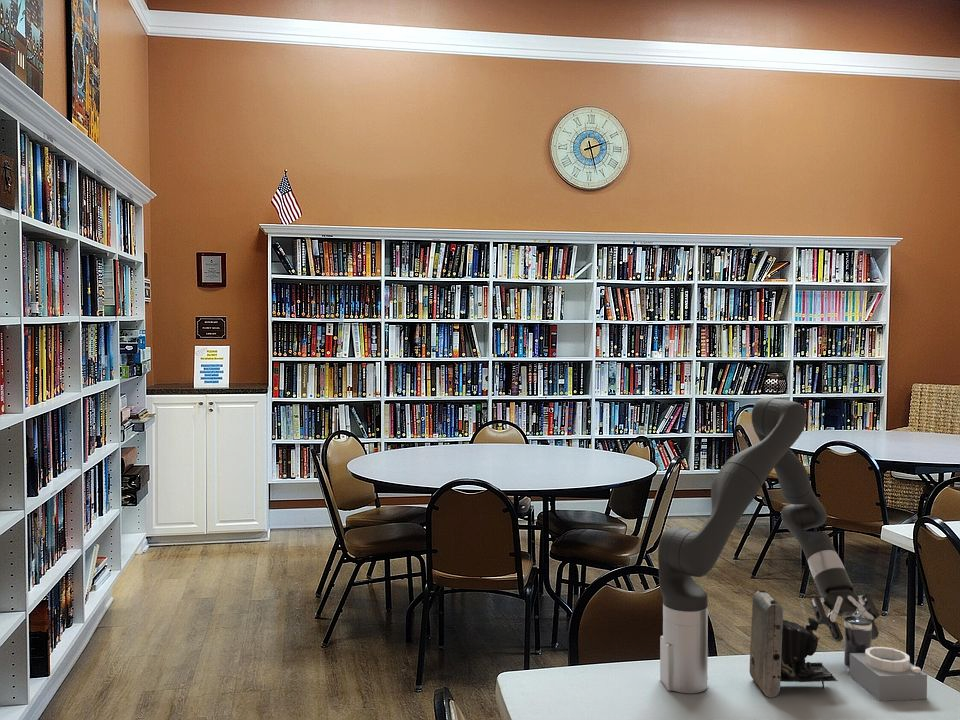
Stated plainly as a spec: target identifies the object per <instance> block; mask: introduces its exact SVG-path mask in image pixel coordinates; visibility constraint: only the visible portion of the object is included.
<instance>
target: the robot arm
mask: <svg viewBox="0 0 960 720" xmlns="http://www.w3.org/2000/svg"><path fill="white" fill-rule="evenodd" d="M750 416H751V417H750V418H751V424H752V427H753V430H754V432H755V434H756V436H757V438H758V440H759V442H757V443H755V444H753V445H751V446H749V447H747V448H745V449H743V450H741V451H739V452H738V453H735V454H734V455H732V456H731V457H729V458H728V459H727V460H726V462H725V463H724V464H723V465H722V466H721V468H720V469H719V471H718V472H717V474H716V475H715V477H714V479H713V481H712V482H711V489H710V499H711V513H710V514H709V515H710V516H709V517H708V519H707V520H706V521H705V523H704V525H703V526H702V527H701V528H700V529H699V530H698V531H696V530H692V529H688V528H684V527H679V526H671V527H669V528H667V529H666V530H665V531H664V532H663V533H662V535H661V537H660V539H659V542H658V543H659V544H658V549H657V561H658V578H659V580H658V583H659V590H660V594H661V596H662V620H663V621H662V635H660V637H659V641H660V643H659V644H660V645H659V648H660V649H659V652H660V653H659V656H660V657H659V658H660V659H659V675H660V677H659V679H660V681H661V683H662V684H663V686H664V687H665V689H666V690H667V691H669V692H670V691H672V692H677V693H682V694H697V693H701V692H704V691H706V690H707V689H708V680H709V679H708V678H709V676H708V663H709V662H708V659H709V658H708V645H709V644H708V643H709V642H708V639H709V638H708V633H709V632H708V631H709V629H708V627H709V626H708V622H709V621H708V619H709V617H708V616H709V615H708V614H709V613H708V610H709V609H708V606H709V605H708V604H709V601H708V599H709V598H708V594H707V592H706V591H705V590H704V588H702V586H700V585H699V584H697V583H696V581H695V580H694V579H693V577H696V578H701V577H704V576H706V575H708V573H710V571H712V570H713V568H714V566H715V565H716V563H717V561H718V559H719V558H720V556H721V554H722V551H723V550H724V548H725V546H726V543H727V542H728V540H729V538H730V536H731V534H732V532H733V531H734V529H735V527H736V526H737V524H738V522H739V521H740V519H741V517H742V516H743V515H744V513H745V511H746V510H747V508H748V507H749V505H751V503H752V501H753V500H754V499H755V497H756V496H757V494H758V492H759V491H760V490H761V488H762V487H763V485H764V484H765V482H766V480H767V478H769V475H770V474H771V473H772V471H773V470H774V471H775V473H776V474H775V475H776V477H777V480H778V484H779V487H780V490H781V494H782V496H783V498H784V500H785V501H786V502H787V503H788V504H787V505H785V506H783V508H782V509H781V512H780V518H781V521H782V524H783V525H784V526H785V528H786V529H787V530H788V531H789V532H790V533H791V535H792V536H793V537H794V538H795V540H796V541H797V542H798V544H799V545H800V547H801V550H802V552H803V553H804V557H805V559H806V561H807V564H808V567H809V570H810V573H811V576H812V578H813V581H814V582H815V586H816V588H817V590H818V592H819V594H820V596H821V597H820V596H819V595H815V596H814V597H813V598H812V599H811V600H810V604H811V607H812V610H813V613H814V616H815V618H816V619H815V620H816V621H818V622H819V625H825V626H827V628H828V630H829V632H830V634H831V636H832V639H833V640H835V642H837V643H839V642H841V641H843V639H844V635H843V634H842V631H841V629H840V626H839V624H838V622H836V619H837V617H843V616H846V617H850V616H856V617H862V618H866V619H869V620H870V621H871V622H872V635H871V641H873V640H876V639H877V638H878V637H879V634H880V633H879V630H878V628H877V624H876V623H875V621H876V620H878V618H879V617H880V615H881V614H880V613H879V610H878V608H877V606H876V605H875V603H874V601H873V599H872V597H871V596H870V594H869V593H868V592H864V594H862V595H861V594H860V595H858V594H856V592H855V591H854V587H853V583H852V582H851V579H850V576H849V575H848V572H847V570H846V568H845V566H844V564H843V561H842V560H841V558H840V556H839V554H838V553H837V551H836V548H835V547H834V544H833V542H832V539H831V537H830V536H829V535H828V533H826V532H825V531H822V530H821V531H817V530H816V531H815V530H814V531H808V530H809V529H814V528H818V527H822V526H823V525H824V524H825V523H826V521H827V517H828V515H827V510H826V508H825V507H824V505H823V503H822V502H821V501H820V500H819V499H818V497H817V496H816V495H815V492H814V490H813V488H812V484H811V481H810V480H811V479H810V477H809V473H808V471H807V469H806V467H805V465H804V463H803V462H802V461H801V460H800V459H799V457H798V456H797V455H796V454H795V453H794V451H792V449H791V447H793V445H794V444H795V442H796V441H797V440H798V439H799V437H800V436H801V434H802V433H803V431H804V430H805V426H806V424H807V420H808V419H807V418H808V413H807V409H806V408H805V406H804V405H803V404H802V403H799V402H797V401H793V400H787V399H782V398H781V399H780V398H774V397H761V398H759V399H758V400H757V401H756V402H755V403H754V405H753V407H752V410H751V415H750ZM824 606H825V607H827V609H828V613H827V614H826V611H825V609H824ZM857 610H858V611H857Z"/></svg>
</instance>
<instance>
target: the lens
mask: <svg viewBox="0 0 960 720" xmlns="http://www.w3.org/2000/svg"><path fill="white" fill-rule="evenodd" d="M871 635H872V622H871V621H870V620H869V619H866V618H862V617H856V616H853V615H851V616H845V618H844V651H843V652H844V659H843V660H844V661H843V664H844V665H845V666H847V667H849V668H850V653H865V651H866V649H868V648H870V647H872V639H871Z"/></svg>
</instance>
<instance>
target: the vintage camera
mask: <svg viewBox="0 0 960 720" xmlns="http://www.w3.org/2000/svg"><path fill="white" fill-rule="evenodd" d="M751 610H752V611H751V612H752V613H751V626H750V628H751V630H750V632H751V633H750V648H749V651H750V652H749V675H750V677H751V678H752V680H753V681H754V682H755V683H756V685H757V686H758V687H759V689H760V690H761V691H762V693H764V694H765V696H767V697H768V698H774V697H775V698H776V697H777V696H778V695H779V693H780V692H781V691H780V690H781V682H783V683H785V682H787V683H792V682H793V683H815V682H816V683H819V682H820V683H821V685H822V689H825V684H824V682H838V680H837V678H836V677H835V676H834V674H833V673H831V672H830V671H829V670H828V669H827V668H826V667H825V666H824V665H823V662H810V661H807V662H806V658H807V656H809V657H812V656H813V655H814V654H815V653H816V651H817V650H818V649H817V648H818V644H819V640H821V637H818V636H817V635H816V634H814V631H815V632H817V631H818V628H819V625H820V624H819V622H818V621H817V619H815V618H813V617H808V619H807V620H808V624H806V625H805V627H804V625H803V626H802V625H799V623H797V622H793V621H789V620H786V619H784V610H783V607H782V605H781V604H780V603H779V602H778V601H776V600H775V599H774V598H773V597H772V596H771V595H770V594H769V592H768V591H767V590H765V589H759V590H757V591H756V592H755V593H754V594H753V596H752V608H751Z"/></svg>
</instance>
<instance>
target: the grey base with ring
mask: <svg viewBox="0 0 960 720" xmlns="http://www.w3.org/2000/svg"><path fill="white" fill-rule="evenodd" d="M849 677H850V678H851V679H853V681H855V682H856V683H857V684H859V685H860V686H861V687H862V688H863V689H864V690H865V691H867V692H868V693H869V694H871V695H872V696H873V697H874V698H876V699H877V700H878V701H907V700H908V701H909V700H911V699H912V700H928V674H927V673H925V672H924V671H923V670H922V669H921V668H920V667H919V666H916V665H914V664H913V663H911V661H910V655H909V654H907V653H906V652H904V650H903V651H902V650H899V649H897V648H893V647H886V646H871V647H870V648H868V649H866V651H865V653H850V667H849Z"/></svg>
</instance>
